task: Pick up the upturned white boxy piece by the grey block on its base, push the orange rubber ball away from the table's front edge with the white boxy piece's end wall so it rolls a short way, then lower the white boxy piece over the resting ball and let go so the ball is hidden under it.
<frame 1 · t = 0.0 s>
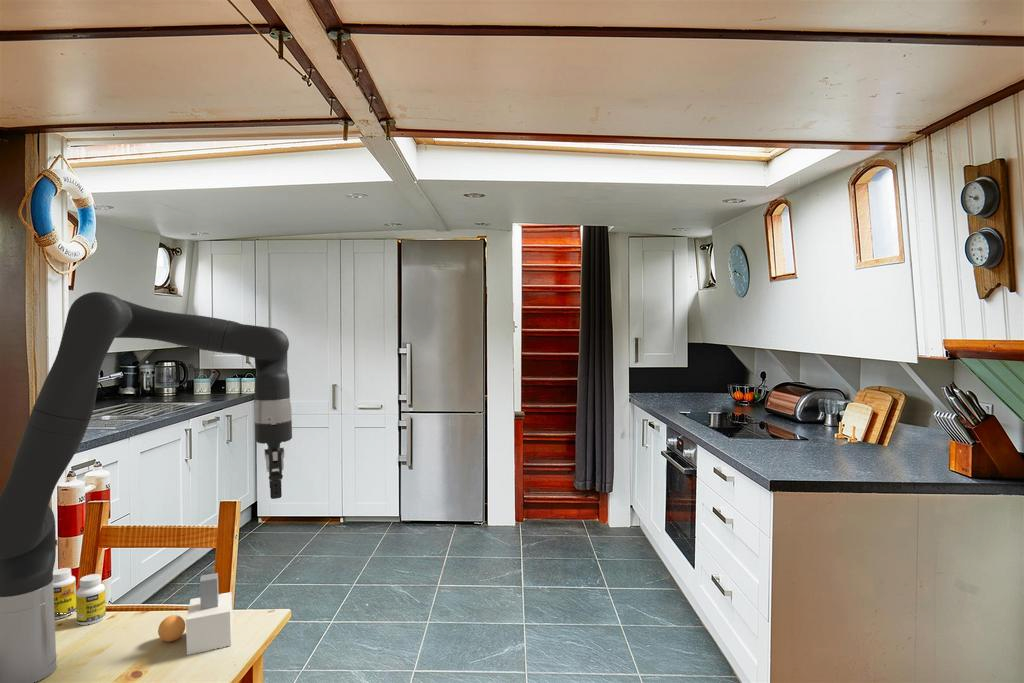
hand: (275, 493, 131), 29 cm above the table, tool pointing down, fingers open, 8 cm apart
white boxy piece: (210, 638, 126), on the table
ball: (171, 628, 126), on the table
supplement bottle: (62, 615, 138), on the table
supplement bottle 2: (91, 620, 135), on the table
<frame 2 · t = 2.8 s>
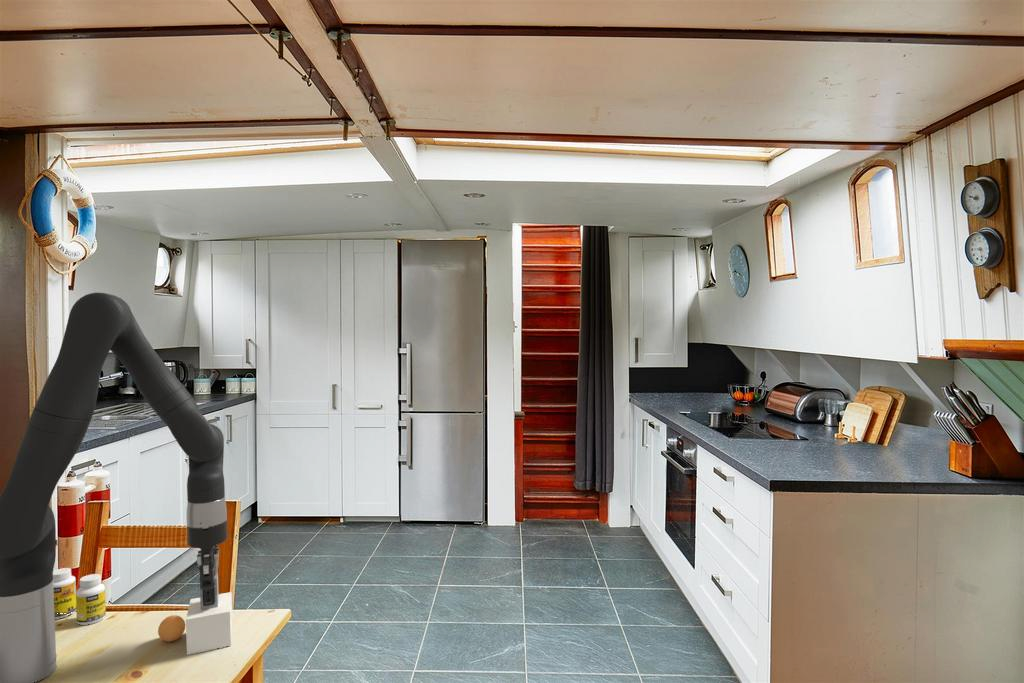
hand: (209, 600, 126), 8 cm above the table, tool pointing down, fingers closed on white boxy piece, 3 cm apart
white boxy piece: (210, 638, 126), on the table, touching gripper
everything else where it was.
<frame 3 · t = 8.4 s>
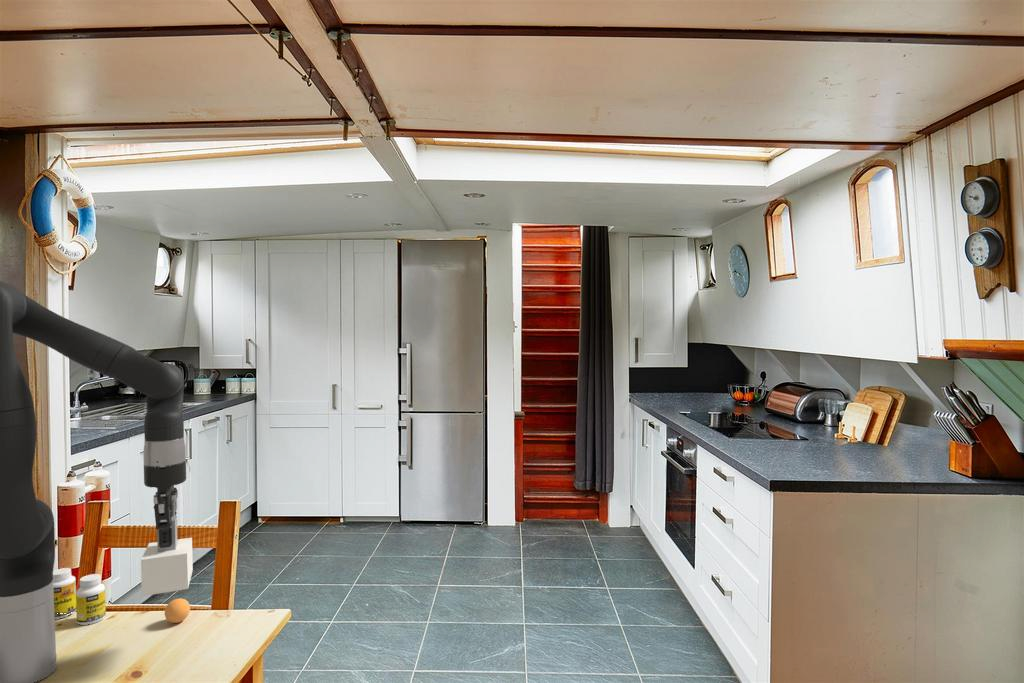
hand: (166, 543, 123), 21 cm above the table, tool pointing down, fingers closed on white boxy piece, 3 cm apart
white boxy piece: (168, 582, 123), point 13 cm above the table, touching gripper
ball: (177, 610, 134), on the table
everything else where it was.
when the fingers open (9 cm above the table, at t = 13.9 s): white boxy piece stays where it is, on the table.
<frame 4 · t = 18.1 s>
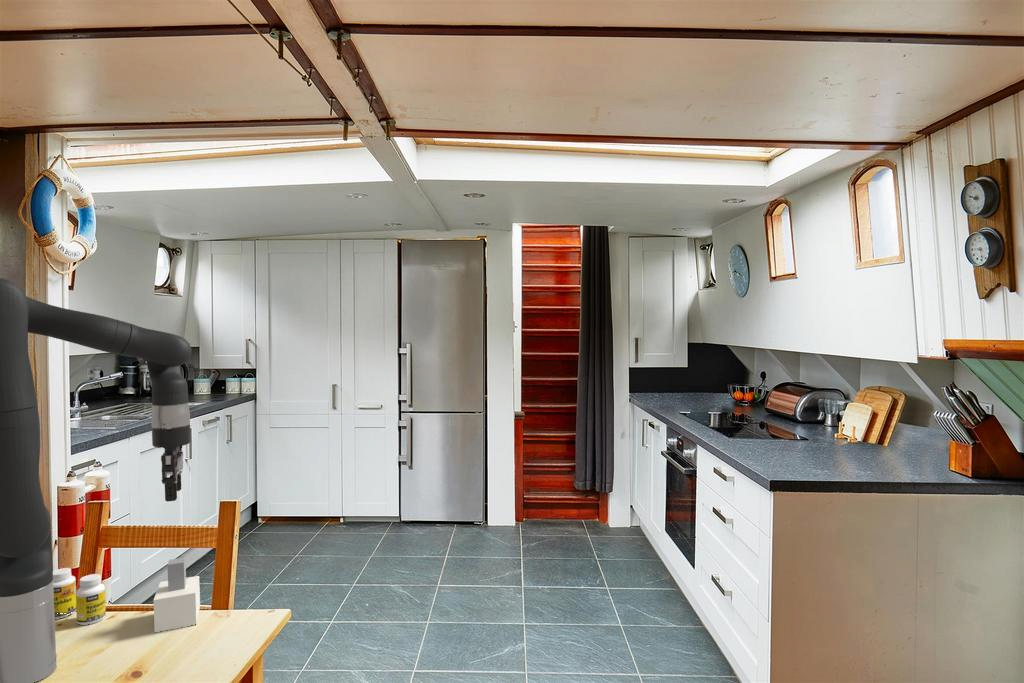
hand: (173, 495, 134), 28 cm above the table, tool pointing down, fingers open, 8 cm apart
white boxy piece: (178, 618, 135), on the table
everything else where it was.
at the end: ball 1.4 cm from the white boxy piece (horizontally); white boxy piece on the table; ball moved 8.6 cm from its start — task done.
